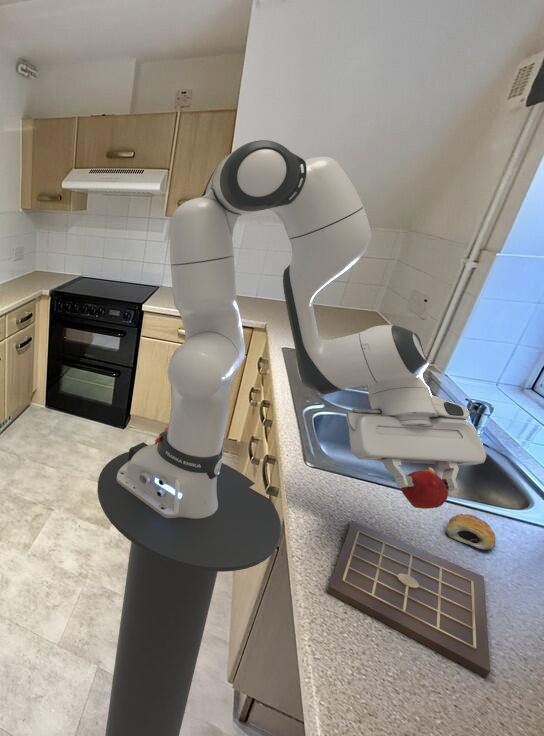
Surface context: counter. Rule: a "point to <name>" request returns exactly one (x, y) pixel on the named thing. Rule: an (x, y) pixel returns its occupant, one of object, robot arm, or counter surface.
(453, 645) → the grid board
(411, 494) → the onion
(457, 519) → the pastry
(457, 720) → the counter surface
